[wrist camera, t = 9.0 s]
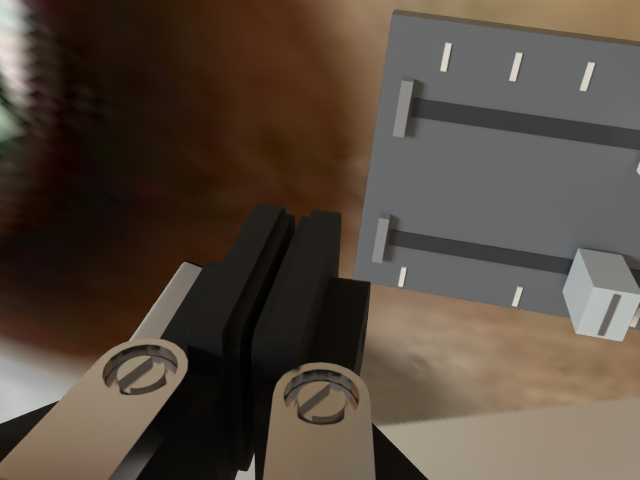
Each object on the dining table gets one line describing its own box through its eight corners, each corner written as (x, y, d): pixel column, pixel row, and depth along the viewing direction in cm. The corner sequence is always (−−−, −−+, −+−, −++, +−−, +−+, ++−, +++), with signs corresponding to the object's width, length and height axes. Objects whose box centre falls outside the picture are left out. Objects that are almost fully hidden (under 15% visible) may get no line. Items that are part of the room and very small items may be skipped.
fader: (578, 247, 35) (594, 288, 31) (621, 255, 34) (643, 296, 31) (562, 291, 36) (576, 334, 32) (604, 298, 36) (622, 342, 32)
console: (394, 9, 32) (391, 16, 30) (801, 62, 30) (825, 74, 28) (355, 267, 40) (351, 286, 38) (674, 322, 38) (686, 344, 36)
